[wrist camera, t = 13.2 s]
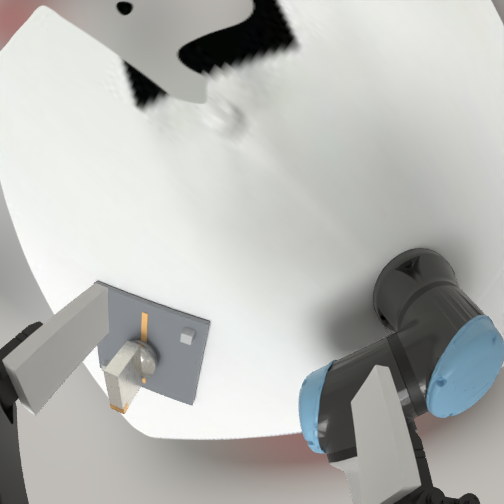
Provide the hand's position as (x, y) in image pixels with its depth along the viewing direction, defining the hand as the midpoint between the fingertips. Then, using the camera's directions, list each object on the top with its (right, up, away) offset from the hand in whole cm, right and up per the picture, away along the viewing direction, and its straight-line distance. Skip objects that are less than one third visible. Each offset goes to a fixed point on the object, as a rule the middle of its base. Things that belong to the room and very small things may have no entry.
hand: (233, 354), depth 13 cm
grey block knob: (-21, -16, +39) cm, 48 cm away
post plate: (-21, -15, +43) cm, 50 cm away
